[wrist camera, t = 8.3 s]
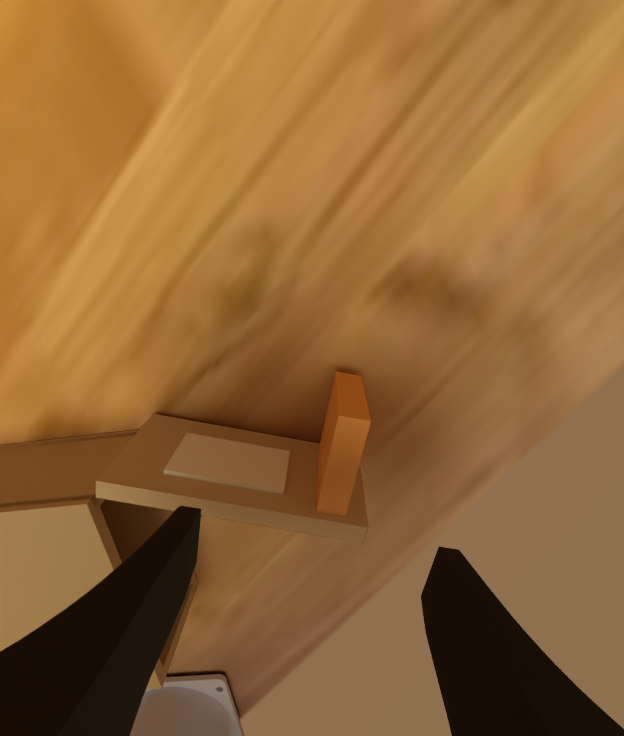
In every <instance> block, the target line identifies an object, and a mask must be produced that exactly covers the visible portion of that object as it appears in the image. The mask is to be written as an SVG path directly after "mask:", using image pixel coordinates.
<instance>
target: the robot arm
mask: <svg viewBox="0 0 624 736" xmlns="http://www.w3.org/2000/svg"><path fill="white" fill-rule="evenodd" d="M200 518H201V509H199V508H193V507H187V506H179V507H178V508H177V509H176V510H175V511H174V512H173V513H172V514H171V515H170V516H169V517H168V519H167V520H166V521H165V522H164V523H163V524H162V525H161V526H160V527H159V528H158V529H157V530H156V531H155V532H154V533H153V534H152V535H151V536H150V537H149V538H148V539H147V540H146V541H145V542H144V543H143V544H142V545H141V546H140V547H139V548H138V549H137V550H136V551H135V552H134V553H133V554H131V555H130V556H129V557H128V558H127V559H126V560H125V561H124V562H123V563H122V564H120V565H119V566H118V567H117V568H116V569H115V570H113V571H112V572H111V573H110V574H109V575H108V576H107V577H105V578H104V579H103V580H102V581H101V582H99V583H98V584H97V585H96V586H94V587H93V588H92V589H91V590H90V591H88V592H87V593H86V594H84V595H83V596H82V597H80V598H79V599H78V600H76V601H75V602H74V603H72V604H71V605H70V606H68V607H67V608H66V609H64V610H63V611H62V612H60V613H59V614H57V615H56V616H54V617H53V618H51V619H50V620H49V621H47V622H46V623H44V624H43V625H41V626H40V627H38V628H37V629H35V630H34V631H32V632H31V633H29V634H28V635H26V636H25V637H23V638H22V639H20V640H19V641H17V642H15V643H14V644H12V645H10V646H9V647H7V648H5V649H4V650H2V651H0V736H244V732H243V730H242V727H241V723H240V720H239V717H238V714H237V711H236V707H235V704H234V701H233V698H232V695H231V692H230V689H229V686H228V682H227V679H226V677H225V676H224V675H221V674H211V675H195V676H178V677H166V678H165V681H164V684H163V687H162V689H147V690H146V688H147V685H148V683H149V680H150V678H151V675H152V673H153V671H154V668H155V666H156V664H157V662H158V659H159V657H160V655H161V652H162V650H163V648H164V645H165V643H166V641H167V638H168V636H169V634H170V631H171V629H172V627H173V625H174V622H175V620H176V618H177V615H178V613H179V611H180V608H181V606H182V603H183V601H184V599H185V596H186V593H187V590H188V587H189V584H190V581H191V578H192V574H193V571H194V568H195V565H196V561H197V550H198V540H199V529H200ZM421 600H422V608H423V616H424V622H425V629H426V635H427V639H428V643H429V647H430V651H431V655H432V659H433V663H434V667H435V670H436V675H437V678H438V682H439V685H440V690H441V694H442V697H443V702H444V705H445V709H446V713H447V717H448V721H449V725H450V730H451V734H452V736H624V729H623V728H622V727H621V726H620V725H618V724H617V723H616V722H615V721H614V720H613V719H612V718H611V717H609V716H608V715H607V714H606V713H605V712H604V711H603V710H602V709H601V708H600V707H598V706H597V705H596V704H595V703H594V702H593V701H592V700H591V699H590V698H589V697H587V695H586V694H584V693H583V692H582V691H581V690H580V689H579V688H578V687H577V686H576V685H575V684H574V683H573V682H572V681H571V680H570V679H569V678H568V677H567V676H566V675H565V674H564V673H563V672H562V671H561V670H560V669H559V668H558V667H557V666H556V665H555V664H554V663H553V662H552V660H551V659H550V658H549V657H548V656H547V655H546V654H545V653H544V652H543V651H542V650H541V649H540V648H539V646H538V645H537V644H536V643H535V642H534V641H533V640H532V639H531V638H530V636H529V635H528V634H527V633H526V632H525V631H524V630H523V629H522V627H521V626H520V625H519V624H518V623H517V622H516V620H515V619H514V618H513V617H512V616H511V614H510V613H509V612H508V611H507V610H506V608H505V607H504V606H503V605H502V604H501V602H500V601H499V600H498V599H497V597H496V596H495V595H494V594H493V592H492V591H491V590H490V589H489V587H488V586H487V585H486V584H485V582H484V581H483V580H482V578H481V577H480V576H479V575H478V574H477V572H476V571H475V570H474V568H473V567H472V566H471V564H470V563H469V562H468V561H467V560H466V558H465V557H464V556H463V554H462V553H461V552H460V551H459V550H457V549H451V548H444V547H439V548H438V551H437V554H436V556H435V559H434V562H433V564H432V567H431V570H430V573H429V575H428V578H427V581H426V584H425V586H424V589H423V592H422V595H421Z"/></svg>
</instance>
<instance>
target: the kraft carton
mask: <svg viewBox="0 0 624 736" xmlns="http://www.w3.org/2000/svg"><path fill="white" fill-rule="evenodd" d="M139 430H140V429H139ZM139 430H130V431H121V432H112V433H103V434H95V435H86V436H77V437H68V438H59V439H50V440H41V441H32V442H23V443H14V444H5V445H0V651H2V650H4V649H5V648H7V647H9V646H10V645H12V644H14V643H15V642H17V641H19V640H20V639H22V638H23V637H25V636H26V635H28V634H29V633H31V632H32V631H34V630H35V629H37V628H38V627H40V626H41V625H43V624H44V623H46V622H47V621H49V620H50V619H51V618H53V617H54V616H56V615H57V614H59V613H60V612H62V611H63V610H64V609H66V608H67V607H68V606H70V605H71V604H72V603H74V602H75V601H76V600H78V599H79V598H80V597H82V596H83V595H84V594H86V593H87V592H88V591H90V590H91V589H92V588H93V587H94V586H96V585H97V584H98V583H99V582H101V581H102V580H103V579H104V578H105V577H107V576H108V575H109V574H110V573H111V572H112V571H113V570H115V569H116V568H117V567H118V566H119V565H120V564H122V563H123V562H124V561H125V560H126V559H127V558H128V557H129V556H130V555H131V554H133V553H134V552H135V551H136V550H137V549H138V548H139V547H140V546H141V545H142V544H143V543H144V542H145V541H146V540H147V539H148V538H149V537H150V536H151V535H152V534H153V533H154V532H155V531H156V530H157V529H158V528H159V527H160V526H161V525H162V524H163V523H164V522H165V521H166V520H167V519H168V517H169V516H170V515H171V514H172V513H173V512H174V511H172V510H166V509H160V508H154V507H148V506H142V505H137V504H131V503H125V502H119V501H113V500H107V499H101V498H96V480H97V479H98V477H99V476H100V475H101V474H102V473H103V472H104V470H105V469H106V468H107V467H108V466H109V465H110V463H111V462H112V461H113V460H114V459H115V458H116V457H117V455H118V454H119V453H120V452H121V451H122V450H123V448H124V447H125V446H126V445H127V444H128V443H129V441H130V440H131V439H132V438H133V437H134V436H135V434H136V433H137V432H138V431H139ZM197 586H198V581H197V578H196V575H195V572H194V571H193V574H192V578H191V581H190V584H189V587H188V590H187V593H186V596H185V599H184V601H183V603H182V606H181V608H180V611H179V613H178V615H177V618H176V620H175V622H174V625H173V627H172V629H171V631H170V634H169V636H168V638H167V641H166V643H165V645H164V648H163V650H162V652H161V655H160V657H159V659H158V662H157V664H156V666H155V668H154V671H153V673H152V675H151V678H150V680H149V683H148V685H147V688H146V690H147V689H162V687H163V684H164V681H165V678H166V675H167V672H168V670H169V667H170V664H171V661H172V658H173V655H174V652H175V649H176V646H177V643H178V641H179V638H180V635H181V632H182V629H183V626H184V623H185V620H186V617H187V615H188V612H189V609H190V606H191V603H192V600H193V597H194V594H195V591H196V588H197Z"/></svg>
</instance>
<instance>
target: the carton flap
mask: <svg viewBox="0 0 624 736" xmlns="http://www.w3.org/2000/svg"><path fill="white" fill-rule="evenodd" d="M370 424H371V418H370V414H369V409H368V404H367V400H366V395H365V391H364V386H363V381H362V377H361V376H358V375H353V374H347V373H342V372H337V371H336V374H335V378H334V383H333V387H332V392H331V396H330V401H329V405H328V410H327V414H326V419H325V423H324V428H323V432H322V437H321V441H320V444H319V443H314V442H308V441H303V440H297V439H292V438H286V437H280V436H275V435H269V434H264V433H258V432H252V431H247V430H241V429H236V428H230V427H225V426H219V425H213V424H208V423H202V422H197V421H191V420H185V419H180V418H174V417H169V416H163V415H158V414H153V415H152V416H151V417H150V418H149V419H148V420H147V422H146V423H145V424H144V425H143V426H142V427H141V429H140V430H139V431H138V432H137V433H136V434H135V436H134V437H133V438H132V439H131V440H130V441H129V443H128V444H127V445H126V446H125V447H124V448H123V450H122V451H121V452H120V453H119V454H118V455H117V457H116V458H115V459H114V460H113V461H112V462H111V463H110V465H109V466H108V467H107V468H106V469H105V470H104V472H103V473H102V474H101V475H100V476H99V477H98V479H97V480H96V498H101V499H107V500H113V501H119V502H125V503H131V504H137V505H142V506H148V507H154V508H160V509H166V510H172V511H175V510H176V509H177V508H178V507H179V506H187V507H193V508H199V509H201V516H207V517H213V518H218V519H224V520H230V521H236V522H242V523H248V524H253V525H259V526H265V527H271V528H277V529H283V530H289V531H294V532H300V533H306V534H312V535H318V536H324V537H329V538H335V539H341V540H347V541H353V542H359V543H364V541H365V537H366V534H367V531H368V521H367V514H366V506H365V499H364V491H363V484H362V476H361V469H360V461H361V457H362V453H363V450H364V446H365V442H366V439H367V435H368V431H369V427H370Z"/></svg>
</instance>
